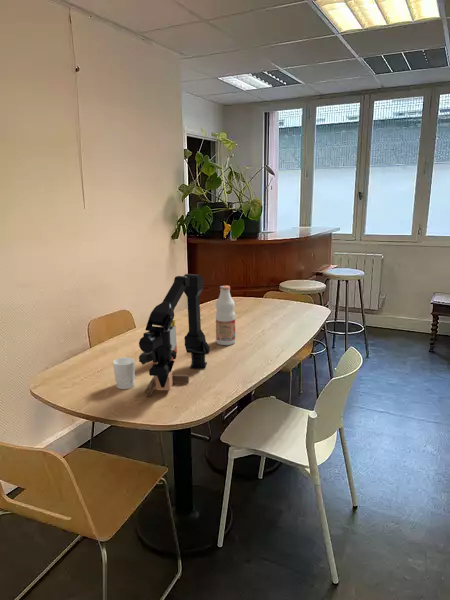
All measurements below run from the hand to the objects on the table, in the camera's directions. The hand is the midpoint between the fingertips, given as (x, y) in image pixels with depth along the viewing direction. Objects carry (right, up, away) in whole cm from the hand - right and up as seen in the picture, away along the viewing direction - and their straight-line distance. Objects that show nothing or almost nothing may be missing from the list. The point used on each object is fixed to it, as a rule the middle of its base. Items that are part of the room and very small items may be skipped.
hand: (164, 384), depth 162 cm
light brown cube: (0, -1, 0) cm, 1 cm away
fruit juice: (+23, +10, +53) cm, 59 cm away
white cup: (-16, -2, +6) cm, 17 cm away
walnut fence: (+1, -2, +2) cm, 4 cm away
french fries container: (-3, +4, +30) cm, 31 cm away
